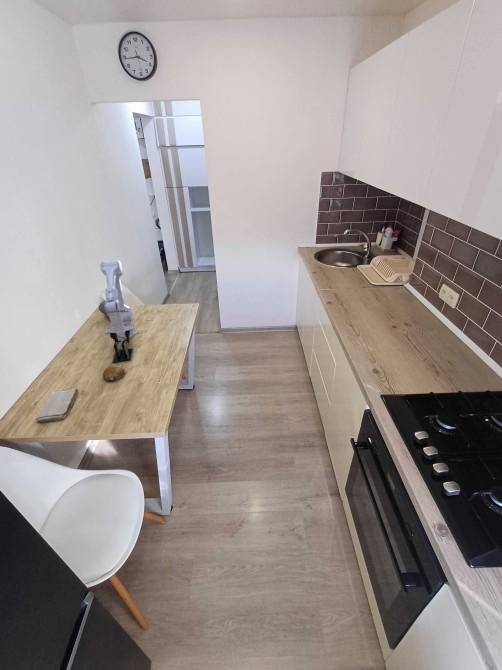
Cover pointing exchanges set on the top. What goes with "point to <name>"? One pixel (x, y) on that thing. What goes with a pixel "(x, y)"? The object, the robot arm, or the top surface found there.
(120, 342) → the tap lever
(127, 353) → the tap bracket
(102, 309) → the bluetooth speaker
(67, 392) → the washcloth
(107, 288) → the robot arm
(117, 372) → the bread roll
